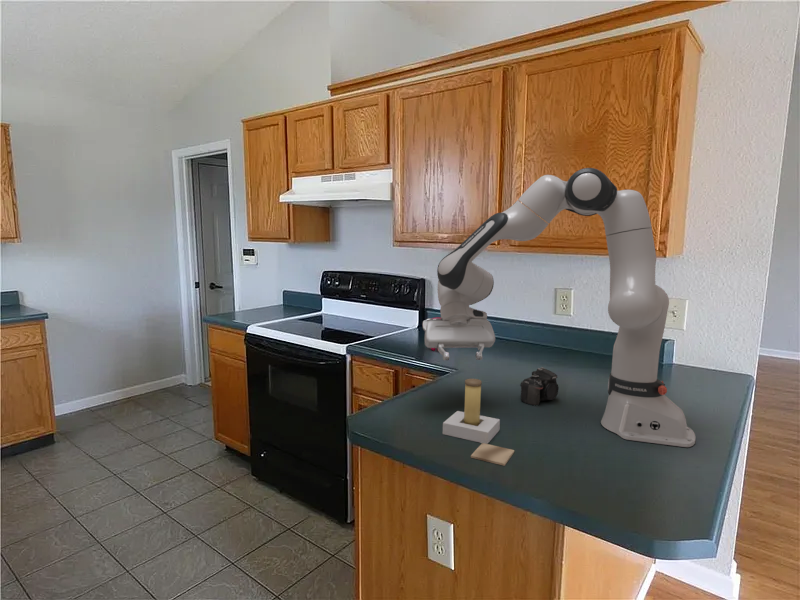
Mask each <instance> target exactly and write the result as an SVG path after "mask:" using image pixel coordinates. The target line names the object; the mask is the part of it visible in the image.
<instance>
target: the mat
mask: <svg viewBox="0 0 800 600" xmlns="http://www.w3.org/2000/svg"><path fill="white" fill-rule="evenodd" d="M514 454H515V450H514V449H511V448H506V447H504V446H503V447H502V446H498V445H493V444H489V443H488V444H485V443H481V444H480V445H478V447H477V448H476V449H475V450H474V451H473V453H471V455H470V458H471V459H475V460H479V461H482V462H483V461H484V462H487V463H491V464H496V465H500V466H503V467H504V466H505V467H506V465H507V463H508V462H509V461H510V459H511V457H512V456H513V455H514Z"/></svg>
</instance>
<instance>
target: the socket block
mask: <svg viewBox="0 0 800 600" xmlns="http://www.w3.org/2000/svg"><path fill="white" fill-rule="evenodd" d="M500 424H501V419H499V418H497V417H496V418H495V417H489V416H485V415H481V414H480V423H479V425H478V426H474V425H469V424H465V423H464V411H460V410H457V411H456V412H454V413H453V414H452V415H450V416H449V417H448V418H447V419H446V420H445V421H443V422H442V435H446V436H450V437H453V438H459V439H464V440H467V441H471V442H477V443H481V444H482V443H485V444H489V443H490V442H491V441H492V440H493V438H495V436H496V435H497V434H498V433H499V431H500V430H501V429H500V427H501V425H500Z"/></svg>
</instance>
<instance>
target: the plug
mask: <svg viewBox="0 0 800 600" xmlns="http://www.w3.org/2000/svg"><path fill="white" fill-rule="evenodd" d="M464 385H465V387H464V411H463V412H464V423H465V424H469V425H474V426H478V425H479V423H480V415H481V394H482V380H481V379H478V378H467V379H465V380H464Z"/></svg>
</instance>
